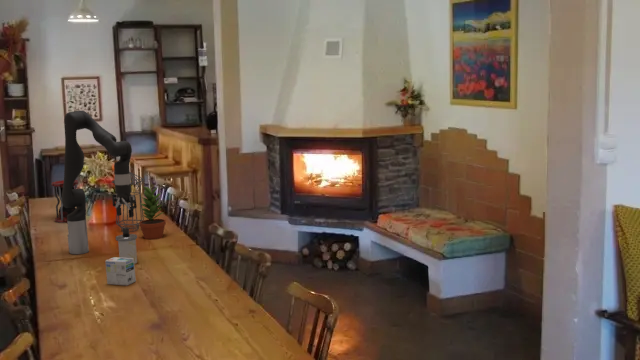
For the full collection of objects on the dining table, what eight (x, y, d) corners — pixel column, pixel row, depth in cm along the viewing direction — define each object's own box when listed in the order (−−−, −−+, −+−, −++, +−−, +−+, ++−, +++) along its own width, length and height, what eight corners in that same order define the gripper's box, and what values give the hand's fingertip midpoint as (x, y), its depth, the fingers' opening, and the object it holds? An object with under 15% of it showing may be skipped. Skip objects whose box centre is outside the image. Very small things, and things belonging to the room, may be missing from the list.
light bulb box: (136, 281, 314) (134, 257, 313) (127, 285, 308) (125, 261, 307) (115, 279, 318) (113, 256, 316) (106, 284, 312) (104, 260, 310)
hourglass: (50, 222, 449) (46, 183, 445) (63, 217, 465) (59, 179, 461) (73, 223, 446) (70, 183, 442) (86, 217, 462) (82, 179, 458)
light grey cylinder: (132, 265, 342) (130, 240, 340) (116, 264, 343) (114, 240, 341) (140, 260, 349) (138, 236, 348) (124, 260, 351) (122, 236, 349)
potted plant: (173, 235, 403) (169, 182, 398) (153, 241, 390) (149, 187, 385) (154, 232, 411) (150, 181, 406) (134, 238, 398) (130, 185, 393)
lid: (111, 239, 343) (110, 229, 342) (127, 235, 351) (126, 225, 351) (125, 242, 338) (124, 231, 337) (141, 237, 346) (140, 227, 345)
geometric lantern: (123, 227, 429) (120, 169, 424) (148, 227, 427) (145, 169, 422) (112, 232, 414) (109, 173, 409) (138, 233, 411) (135, 173, 407)
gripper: (106, 183, 341) (109, 216, 344) (126, 185, 333) (129, 219, 336) (119, 180, 347) (121, 213, 350) (139, 182, 339) (141, 216, 342)
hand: (125, 216), depth 343 cm, fingers open, 8 cm apart
